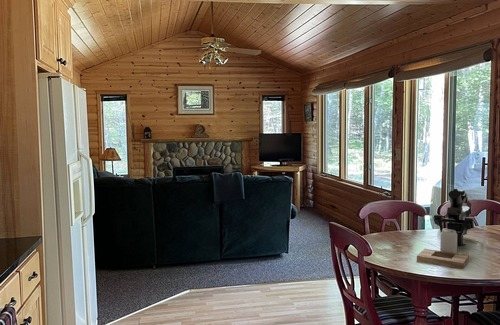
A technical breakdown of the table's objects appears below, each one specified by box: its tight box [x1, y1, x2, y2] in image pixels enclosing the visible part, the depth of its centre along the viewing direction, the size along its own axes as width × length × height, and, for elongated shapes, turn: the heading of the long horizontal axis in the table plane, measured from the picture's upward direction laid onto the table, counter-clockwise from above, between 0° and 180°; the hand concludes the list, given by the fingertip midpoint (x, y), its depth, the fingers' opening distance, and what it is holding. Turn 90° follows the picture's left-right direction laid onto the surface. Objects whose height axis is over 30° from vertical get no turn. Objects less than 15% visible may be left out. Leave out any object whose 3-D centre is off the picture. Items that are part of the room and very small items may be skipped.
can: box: [439, 228, 458, 253], centre depth 210 cm, size 8×8×12 cm
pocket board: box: [416, 248, 470, 269], centre depth 199 cm, size 14×20×2 cm
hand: (450, 235), depth 214 cm, fingers open, 9 cm apart
